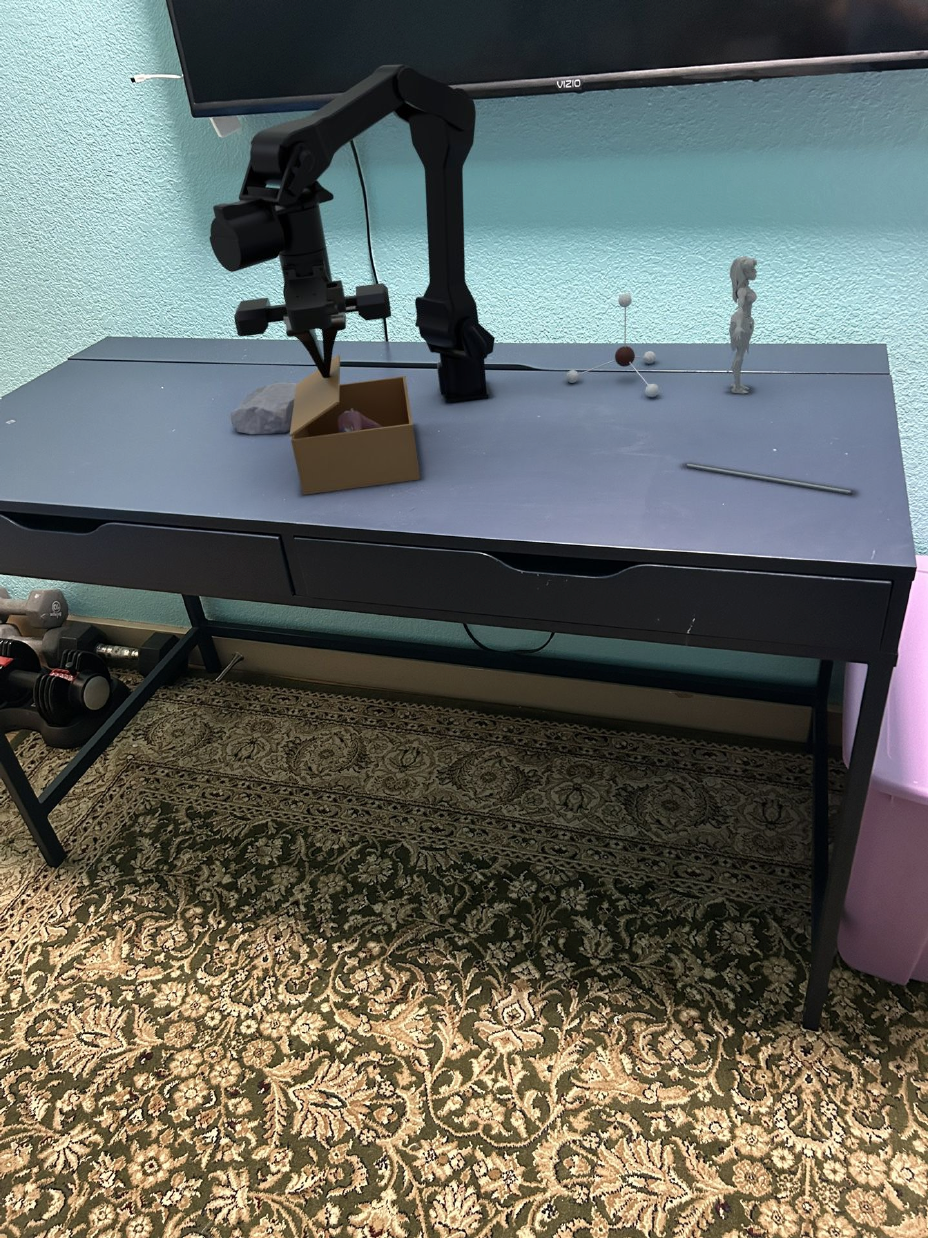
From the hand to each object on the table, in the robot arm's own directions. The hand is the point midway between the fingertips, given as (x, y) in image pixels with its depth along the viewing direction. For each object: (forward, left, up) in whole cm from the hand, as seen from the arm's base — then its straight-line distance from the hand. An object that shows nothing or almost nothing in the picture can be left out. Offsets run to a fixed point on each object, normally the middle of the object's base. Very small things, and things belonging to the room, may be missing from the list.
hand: (326, 376), depth 115 cm
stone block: (+10, -16, -11) cm, 22 cm away
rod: (-50, +23, -11) cm, 56 cm away
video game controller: (-3, +2, -11) cm, 11 cm away
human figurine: (-56, -4, -11) cm, 57 cm away
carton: (-3, +2, -11) cm, 11 cm away
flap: (+1, +2, -1) cm, 3 cm away
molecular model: (-43, -11, -11) cm, 45 cm away
